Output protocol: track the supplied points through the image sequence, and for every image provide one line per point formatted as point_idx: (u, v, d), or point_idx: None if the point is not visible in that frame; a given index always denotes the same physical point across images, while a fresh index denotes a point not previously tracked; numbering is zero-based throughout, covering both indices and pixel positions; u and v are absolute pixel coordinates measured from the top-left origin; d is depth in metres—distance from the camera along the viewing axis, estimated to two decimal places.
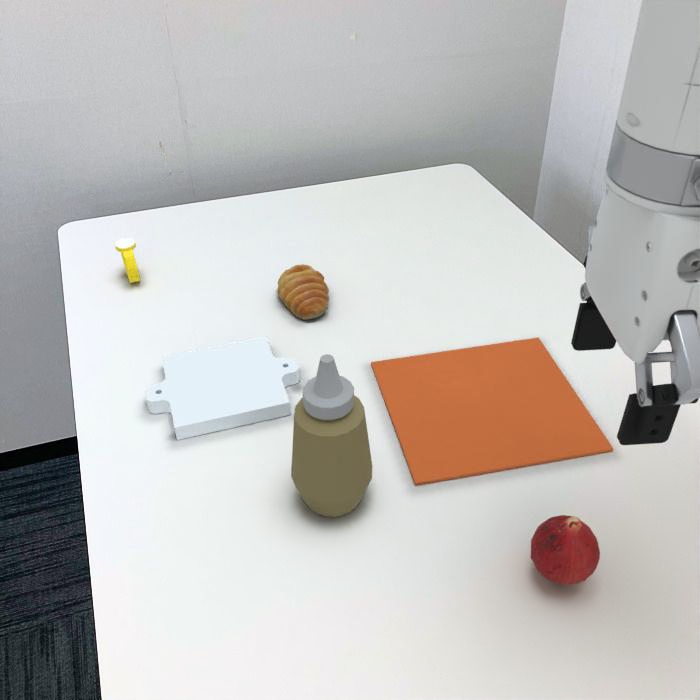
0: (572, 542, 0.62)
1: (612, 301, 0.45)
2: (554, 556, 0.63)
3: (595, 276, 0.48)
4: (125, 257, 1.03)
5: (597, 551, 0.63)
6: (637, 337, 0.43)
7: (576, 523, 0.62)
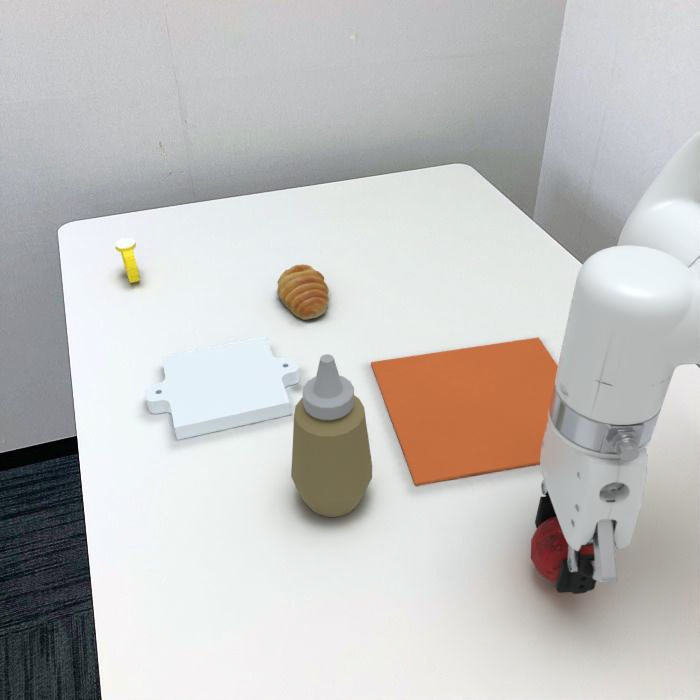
0: None
1: (557, 497, 0.59)
2: (554, 556, 0.63)
3: (546, 469, 0.62)
4: (125, 257, 1.03)
5: None
6: (573, 534, 0.56)
7: None
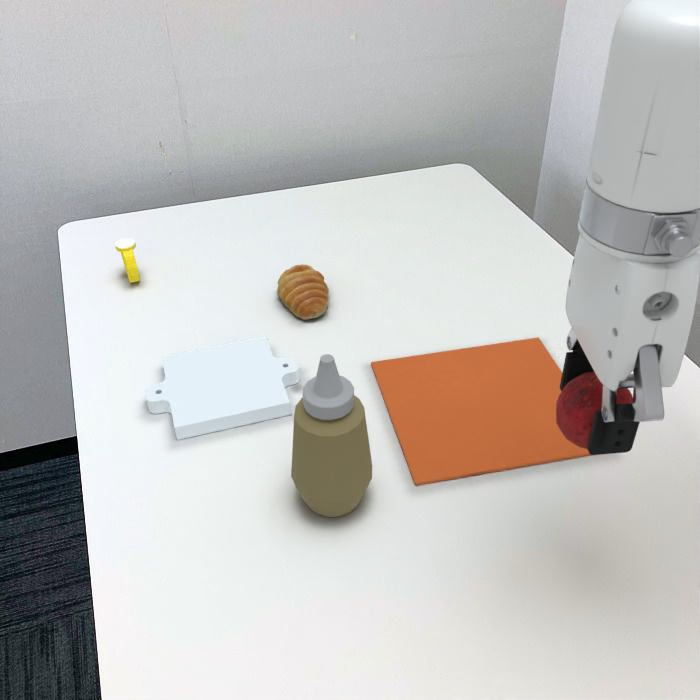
0: None
1: (588, 334, 0.50)
2: (584, 413, 0.54)
3: (574, 309, 0.53)
4: (125, 257, 1.03)
5: None
6: (610, 368, 0.48)
7: None
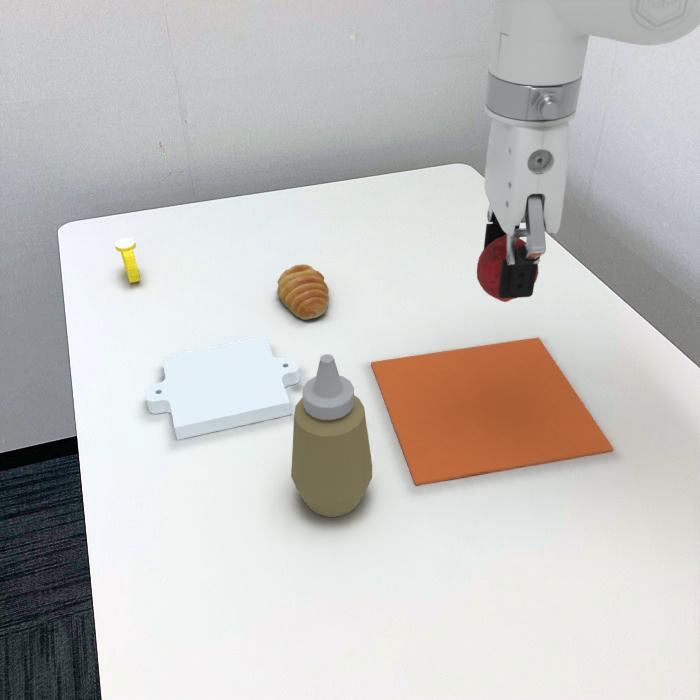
0: None
1: (495, 195, 0.66)
2: (496, 265, 0.69)
3: (488, 182, 0.68)
4: (125, 257, 1.03)
5: None
6: (508, 215, 0.63)
7: None
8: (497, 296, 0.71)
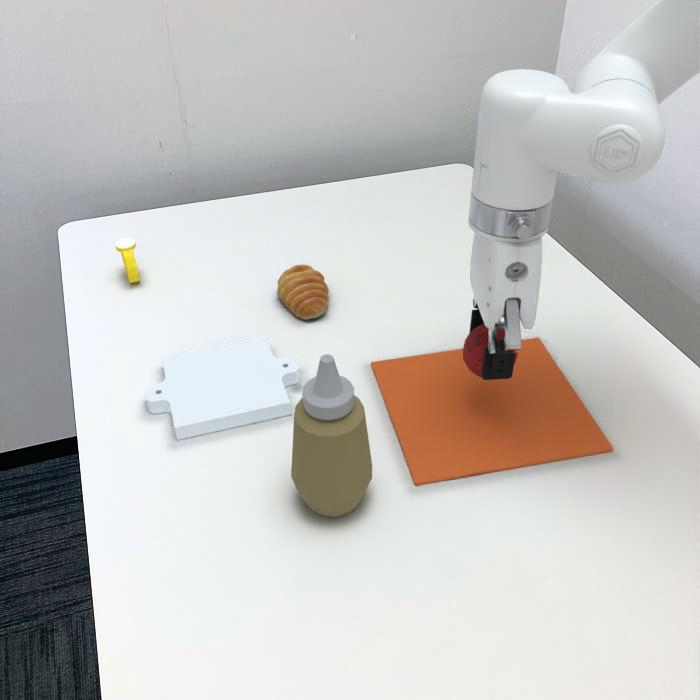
0: None
1: (478, 293, 0.74)
2: (479, 350, 0.78)
3: (472, 277, 0.77)
4: (125, 257, 1.03)
5: None
6: (488, 314, 0.71)
7: None
8: (481, 376, 0.80)
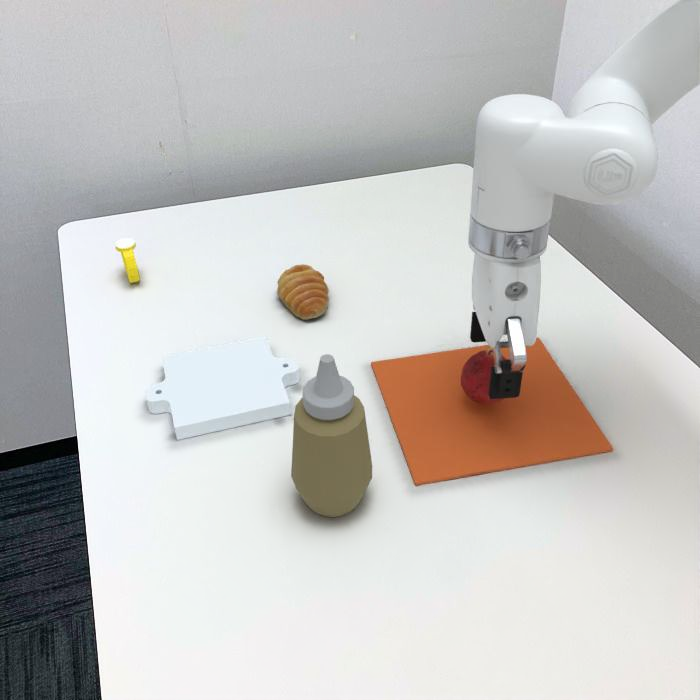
0: (490, 365, 0.80)
1: (480, 311, 0.75)
2: (476, 377, 0.80)
3: (474, 295, 0.78)
4: (125, 257, 1.03)
5: None
6: (490, 332, 0.73)
7: None
8: (478, 402, 0.82)
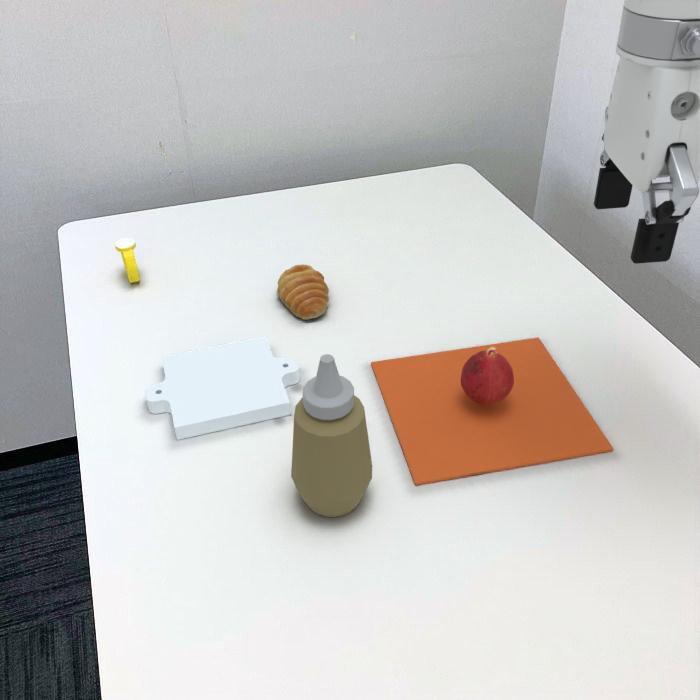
0: (490, 365, 0.80)
1: (624, 149, 0.60)
2: (476, 377, 0.80)
3: (611, 137, 0.63)
4: (125, 257, 1.03)
5: (511, 375, 0.81)
6: (643, 168, 0.58)
7: (493, 351, 0.80)
8: (478, 402, 0.82)
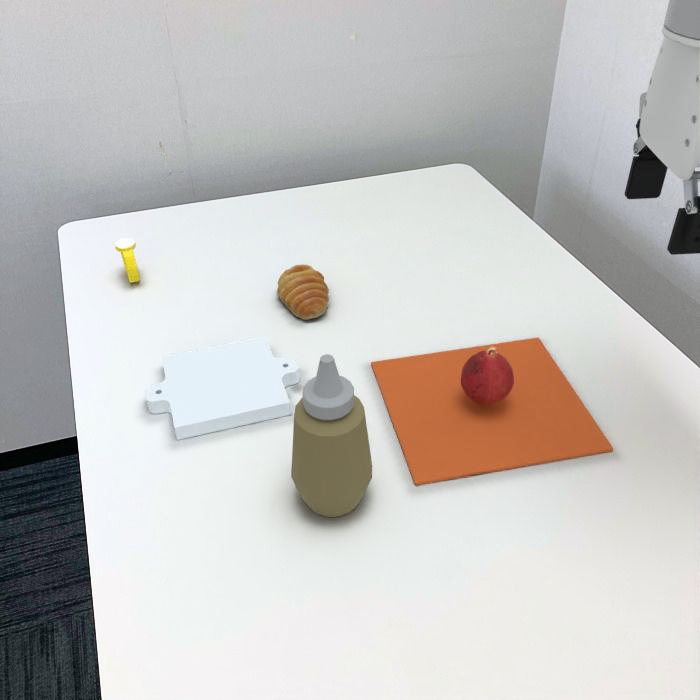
0: (490, 365, 0.80)
1: (665, 136, 0.58)
2: (476, 377, 0.80)
3: (649, 123, 0.61)
4: (125, 257, 1.03)
5: (511, 375, 0.81)
6: (687, 155, 0.56)
7: (493, 351, 0.80)
8: (478, 402, 0.82)
